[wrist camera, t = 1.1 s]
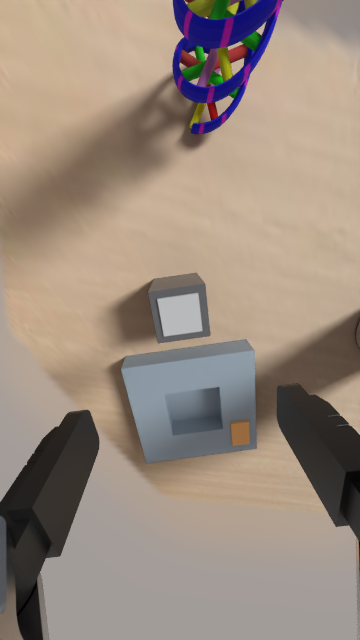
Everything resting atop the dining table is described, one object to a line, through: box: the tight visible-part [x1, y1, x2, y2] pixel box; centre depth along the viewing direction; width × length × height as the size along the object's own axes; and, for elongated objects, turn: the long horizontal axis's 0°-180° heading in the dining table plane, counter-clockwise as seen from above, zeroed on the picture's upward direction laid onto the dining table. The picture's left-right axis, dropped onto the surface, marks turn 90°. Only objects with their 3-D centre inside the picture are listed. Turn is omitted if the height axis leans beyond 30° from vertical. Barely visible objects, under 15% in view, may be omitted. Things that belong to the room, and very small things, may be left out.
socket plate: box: [121, 340, 257, 463], centre depth 30 cm, size 16×16×3 cm
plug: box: [148, 273, 210, 343], centre depth 23 cm, size 5×5×7 cm
